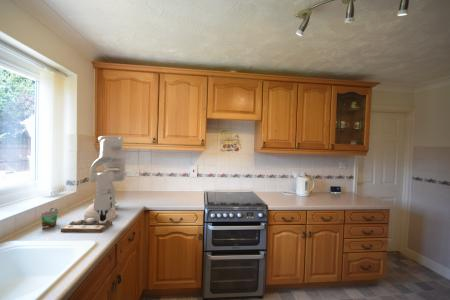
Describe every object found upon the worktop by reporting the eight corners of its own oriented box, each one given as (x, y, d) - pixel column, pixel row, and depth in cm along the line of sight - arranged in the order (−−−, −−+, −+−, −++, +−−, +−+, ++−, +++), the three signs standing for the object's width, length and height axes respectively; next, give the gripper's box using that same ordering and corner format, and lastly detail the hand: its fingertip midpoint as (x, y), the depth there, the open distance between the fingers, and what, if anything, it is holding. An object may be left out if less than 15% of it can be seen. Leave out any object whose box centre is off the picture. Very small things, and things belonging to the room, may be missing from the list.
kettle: (108, 211, 169) (109, 188, 168) (121, 217, 156) (121, 192, 155) (79, 217, 153) (79, 192, 153) (89, 225, 140) (90, 197, 140)
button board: (75, 223, 141) (75, 219, 141) (112, 224, 142) (112, 219, 142) (60, 231, 128) (60, 226, 128) (101, 232, 129) (101, 227, 129)
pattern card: (68, 225, 133) (68, 224, 133) (104, 225, 134) (104, 225, 134) (62, 228, 128) (62, 227, 128) (99, 229, 129) (99, 228, 129)
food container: (53, 229, 132) (53, 213, 132) (41, 230, 130) (41, 213, 130) (61, 222, 144) (62, 207, 144) (50, 223, 142) (51, 208, 142)
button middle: (89, 220, 139) (89, 217, 139) (95, 220, 139) (95, 217, 139) (85, 222, 135) (85, 219, 135) (91, 222, 135) (91, 220, 135)
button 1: (76, 221, 139) (76, 219, 139) (82, 221, 139) (82, 219, 139) (72, 223, 135) (72, 221, 135) (78, 223, 135) (78, 221, 135)
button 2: (101, 221, 140) (101, 219, 140) (107, 221, 140) (107, 219, 140) (98, 224, 136) (98, 221, 136) (104, 224, 136) (104, 221, 136)
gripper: (117, 191, 141) (117, 218, 141) (94, 190, 141) (94, 218, 141) (112, 193, 133) (111, 222, 134) (87, 193, 133) (87, 222, 133)
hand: (102, 220), depth 137 cm, fingers closed
